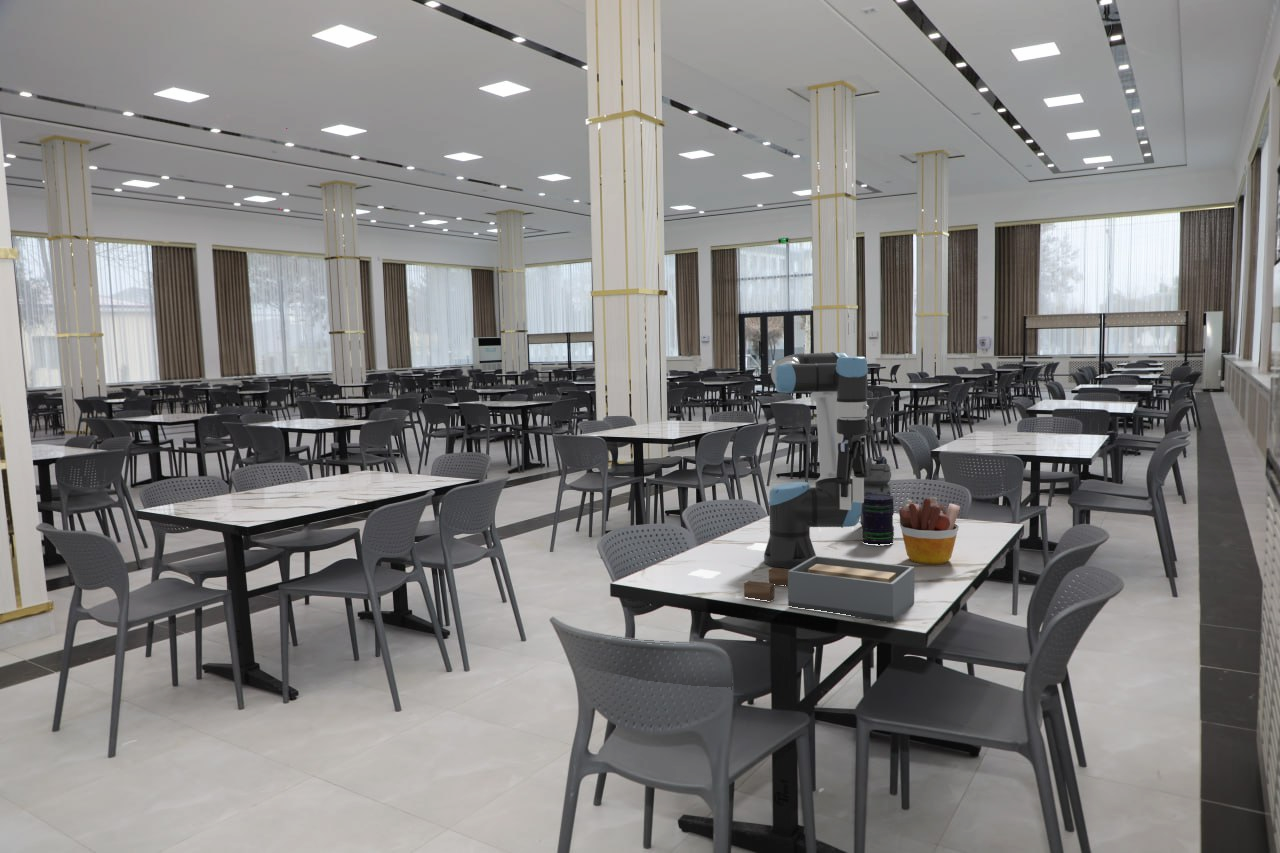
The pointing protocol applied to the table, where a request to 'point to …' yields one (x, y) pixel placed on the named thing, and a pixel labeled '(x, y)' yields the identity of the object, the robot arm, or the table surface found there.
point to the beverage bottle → (876, 479)
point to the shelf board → (853, 573)
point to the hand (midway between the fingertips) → (851, 505)
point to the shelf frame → (852, 590)
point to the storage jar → (878, 519)
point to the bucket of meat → (929, 530)
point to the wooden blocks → (766, 585)
